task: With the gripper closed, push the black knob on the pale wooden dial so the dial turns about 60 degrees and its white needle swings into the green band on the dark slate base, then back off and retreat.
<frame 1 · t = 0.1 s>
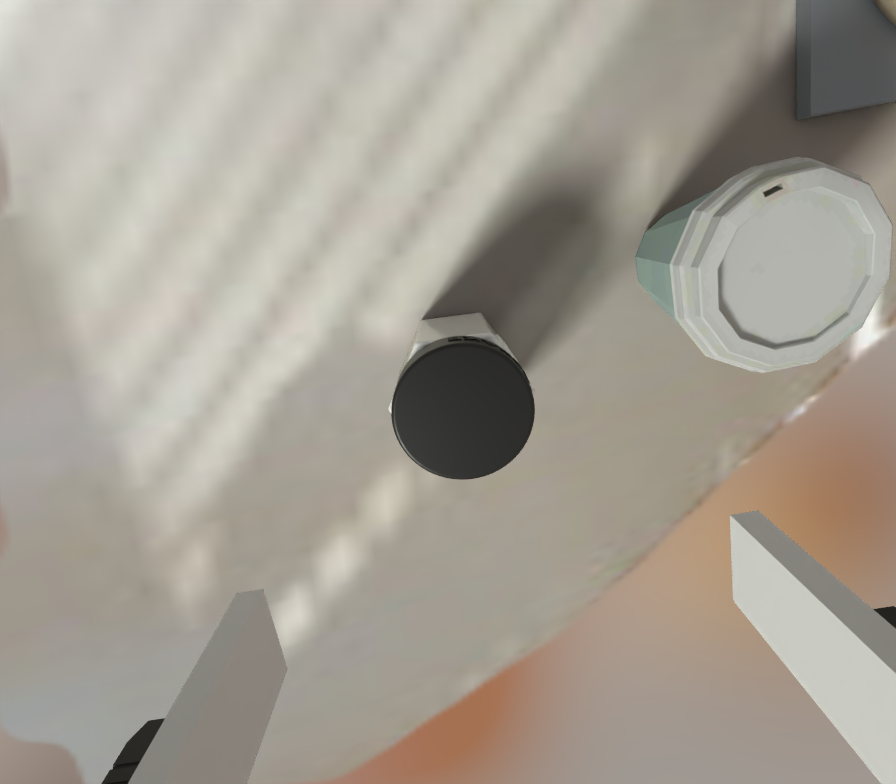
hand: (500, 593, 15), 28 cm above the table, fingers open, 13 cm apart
jar: (456, 365, 42), on the table
disposable coffee cup: (672, 260, 41), on the table
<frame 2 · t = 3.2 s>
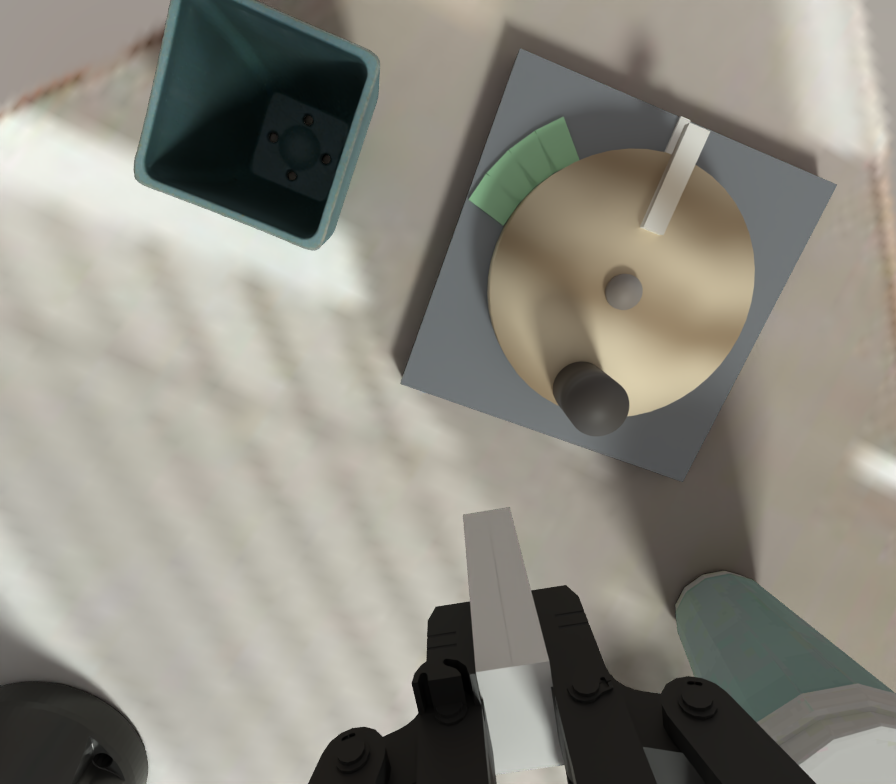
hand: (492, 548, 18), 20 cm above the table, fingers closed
dial: (633, 281, 30), point 5 cm above the table, hinge at 0.0°
disposable coffee cup: (713, 607, 42), on the table
tuner base: (602, 286, 35), on the table
flower pot: (302, 151, 33), on the table
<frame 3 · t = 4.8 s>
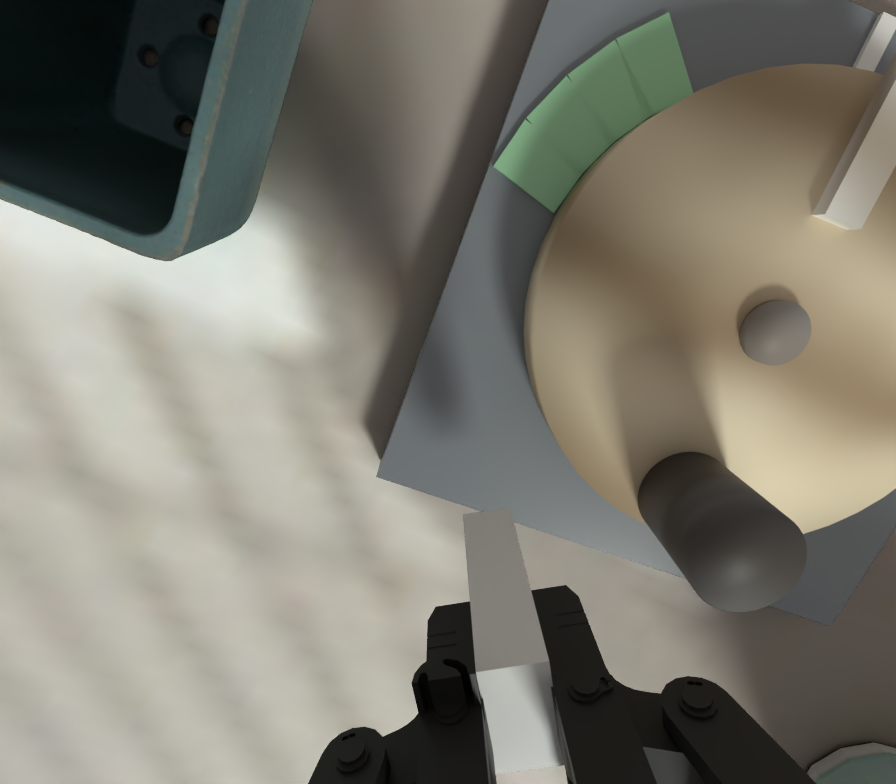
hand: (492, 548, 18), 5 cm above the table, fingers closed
dial: (802, 315, 16), point 5 cm above the table, hinge at 0.0°
tuner base: (713, 315, 21), on the table
flower pot: (204, 85, 19), on the table
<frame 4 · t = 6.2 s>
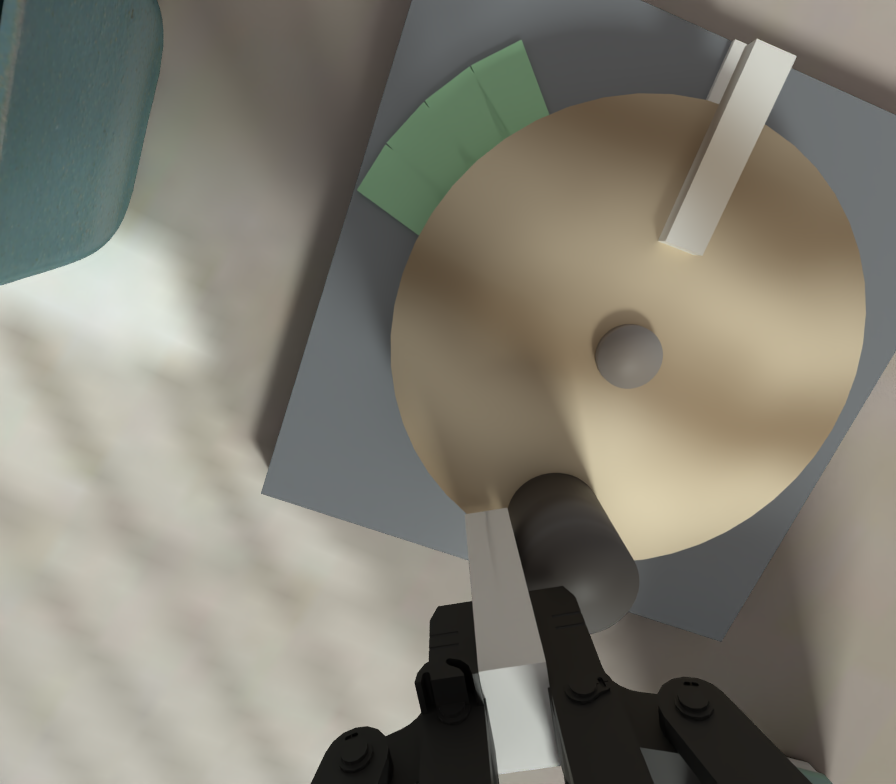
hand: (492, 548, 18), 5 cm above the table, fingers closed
dial: (647, 340, 16), point 5 cm above the table, hinge at 0.5°, touching gripper
tuner base: (594, 334, 21), on the table
flower pot: (79, 108, 19), on the table
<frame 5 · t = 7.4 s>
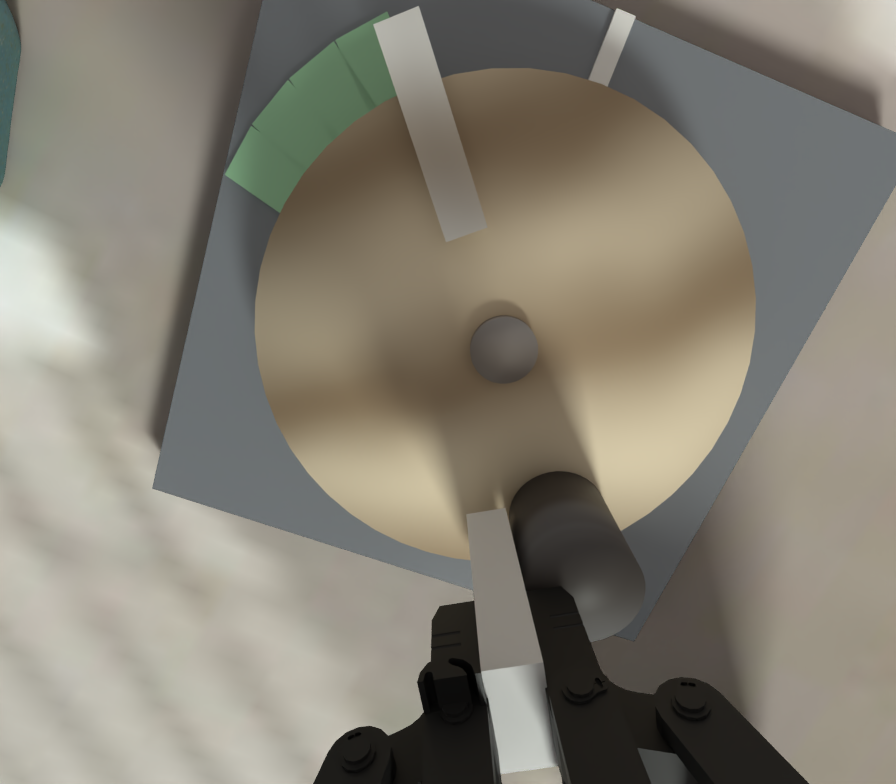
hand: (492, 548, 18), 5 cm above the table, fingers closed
dial: (498, 333, 15), point 5 cm above the table, hinge at 39.2°, touching gripper
tuner base: (494, 325, 20), on the table
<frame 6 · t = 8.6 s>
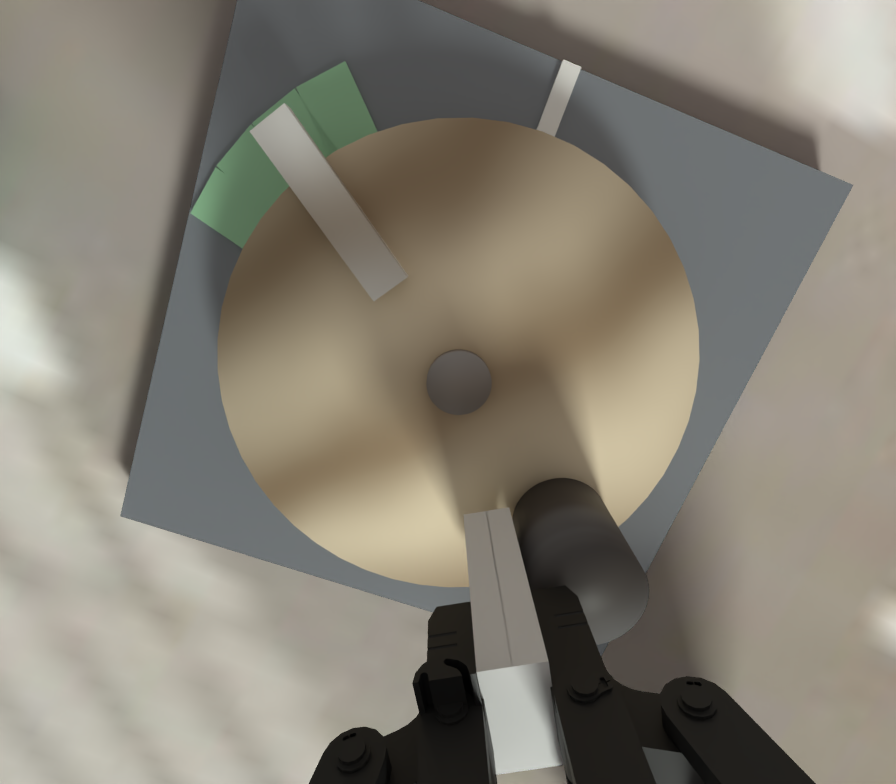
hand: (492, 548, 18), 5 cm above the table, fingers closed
dial: (446, 370, 16), point 5 cm above the table, hinge at 55.0°
tuner base: (456, 355, 21), on the table
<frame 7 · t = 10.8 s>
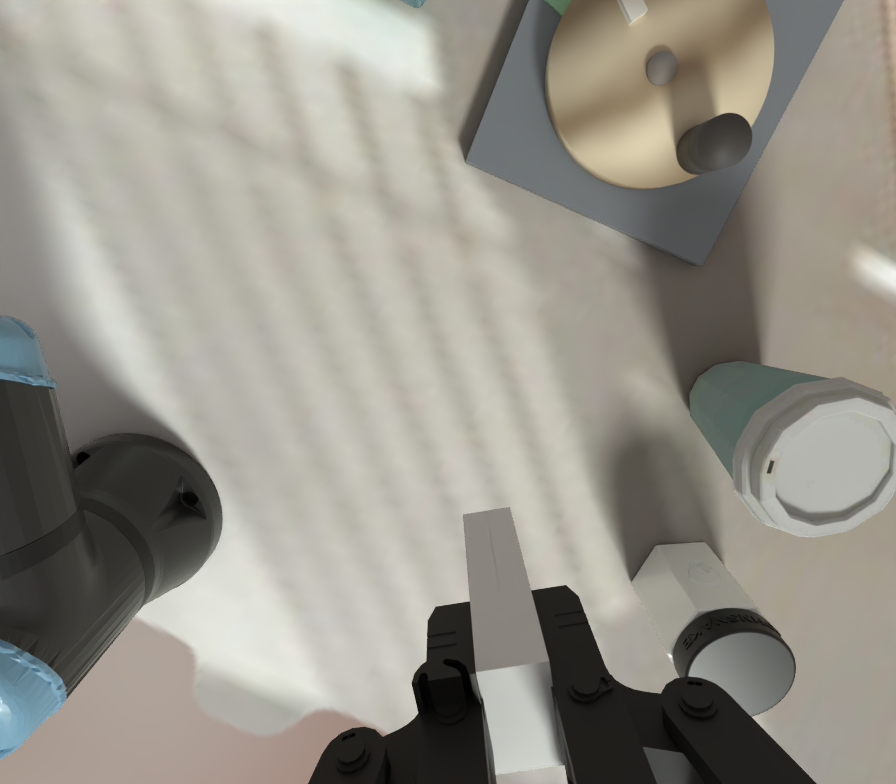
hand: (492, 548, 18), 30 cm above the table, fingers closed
dial: (661, 54, 36), point 5 cm above the table, hinge at 55.0°
jar: (677, 577, 52), on the table
disposable coffee cup: (722, 400, 47), on the table
tuner base: (642, 84, 41), on the table
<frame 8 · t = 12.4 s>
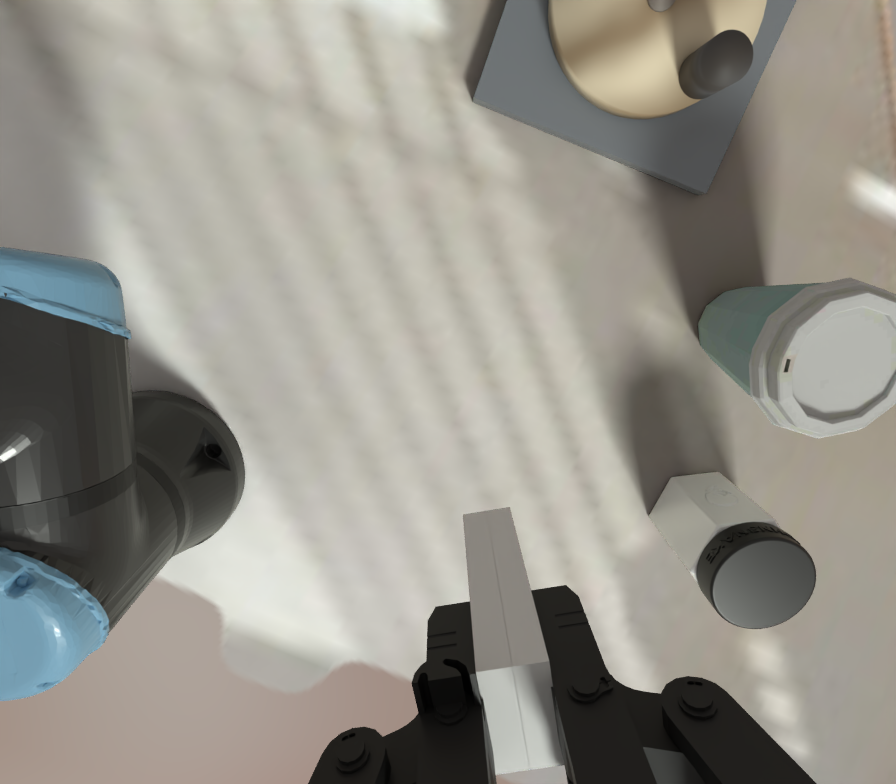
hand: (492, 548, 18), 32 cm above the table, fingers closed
jar: (693, 509, 54), on the table
disposable coffee cup: (730, 329, 49), on the table
tuner base: (641, 16, 42), on the table
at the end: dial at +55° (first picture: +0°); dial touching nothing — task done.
